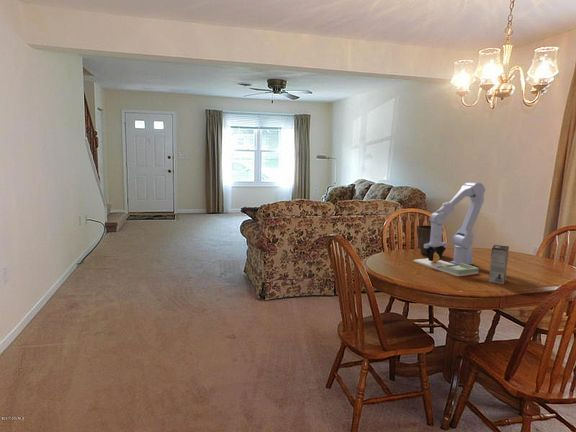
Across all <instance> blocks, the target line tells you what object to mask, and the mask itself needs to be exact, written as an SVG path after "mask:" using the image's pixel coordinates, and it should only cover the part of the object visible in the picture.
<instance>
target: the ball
mask: <svg viewBox="0 0 576 432" xmlns="http://www.w3.org/2000/svg"><path fill="white" fill-rule="evenodd" d="M439 259H440V257H439V255H438V254H437V253H436V252H435V253H434V255H433V261H432V262H438V261H439ZM440 260H441V259H440Z"/></svg>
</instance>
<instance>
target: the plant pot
mask: <svg viewBox="0 0 576 432" xmlns="http://www.w3.org/2000/svg"><path fill="white" fill-rule="evenodd" d="M443 231H444V228H443V229H442V233H443ZM416 236H417V237H416V238H417V243H418V247H419V250H420V253H421V254H422V255H425V256H428V255H427V252H426V250H425V248H424V244H427V243H429V242H430V236H431V225H427V224H426V225H423V224H422V225H416ZM433 249H435V252H434V253H436V248H435V247H433Z"/></svg>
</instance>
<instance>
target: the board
mask: <svg viewBox="0 0 576 432" xmlns="http://www.w3.org/2000/svg"><path fill="white" fill-rule="evenodd" d="M413 263H417V264H419V265H421V266H426V267H428V268H432V269H434V270H438V271H440V272H443V273H446V274H449V275H452V276H455V277H463V276H470V275H478V274H479V270H480V268H479V267H476V266H472V265H471V264H469V265H467V264H463V263H460V265H458V264H455V263H451V262H450V261H444V260H442V259H440V260H439V261H438V262H432V261H429V259H428V257H427V258H419V259H418V258H417V259H413Z"/></svg>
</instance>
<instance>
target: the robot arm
mask: <svg viewBox="0 0 576 432" xmlns="http://www.w3.org/2000/svg"><path fill="white" fill-rule="evenodd" d="M485 191H486V188H485V186H484V184H483V183H481V182H472V181H467V182H465V183H464V184H463V185H462V186H461V187H460V189H459V191H458V192H457V193H455V194H454V196H453V198H452V199H451V200H450V201H445V202H443V203H442V205H441V206H440V207H439V209H437V210H436V211H435V212H433V213H431V215H430V217H429V219H428V220H429V222H430V226H431V236H430V242H429V243H427V244H424V248H425V250H426V252H427V255H426V256H427V258H428V259H429V261H433V255H434V252H435V249H433V247H435V248H436V252H435V253H437V254H438V255H439V257H440V259H439V260H442V257H443V253H444V252H445V251H446V248H447V247H448V242H443V240H442V238H443V232H442V229H443V230H444V228H443V227H444V226H443V225H444V224H445V223H446V220H447V218H448V217H449V216H450V214H452V212H453V211H454V210H455V207H456V205H458V204H459V203H460V202H461V201H462V200H463V199H465V198H467V197H469V199H470V201H471V202H470V204H469V207H468V210H467V212H466V215H465V216H464V219H463V223H462V225H461V226H460V228H459V229H458V230H456V233H455V234H454V235H453V236H452V243H453V244H454V245H453V246H454V251H453V260H450V261H449V263H452V264H455V265H458V266H460V263H463V264H467V265H474V263H475V262H473V261H474V259H473V257H474V250H473V248H472V245H473V242H474V241H473V239H474V235H473V232H472V231H473V229H474V228H475V227H474V226H475V224H476V222H477V219H478V216H479V215H480V212H481V209H482V206H483V204H484V200H485V193H486V192H485Z"/></svg>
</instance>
